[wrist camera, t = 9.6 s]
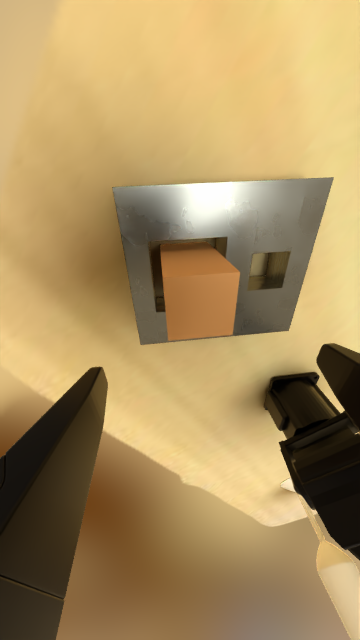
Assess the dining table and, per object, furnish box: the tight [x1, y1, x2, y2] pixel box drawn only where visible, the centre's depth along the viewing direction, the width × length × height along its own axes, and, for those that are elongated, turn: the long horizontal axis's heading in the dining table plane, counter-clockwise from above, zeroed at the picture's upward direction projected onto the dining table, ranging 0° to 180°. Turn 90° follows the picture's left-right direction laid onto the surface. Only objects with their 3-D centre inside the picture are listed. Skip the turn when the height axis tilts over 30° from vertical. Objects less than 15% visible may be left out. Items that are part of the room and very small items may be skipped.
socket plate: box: [112, 177, 334, 345], centre depth 17 cm, size 14×12×3 cm
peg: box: [160, 242, 240, 341], centre depth 15 cm, size 4×4×8 cm
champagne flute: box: [281, 478, 360, 640], centre depth 38 cm, size 7×7×24 cm
